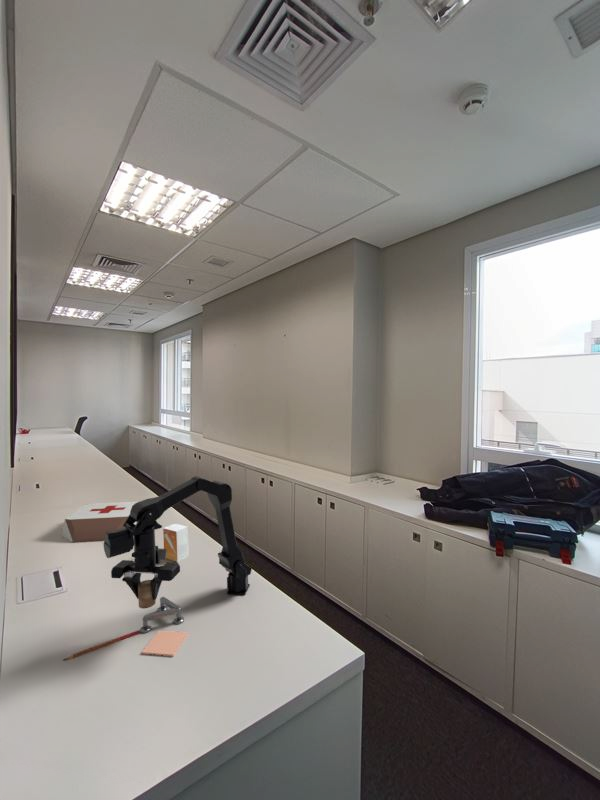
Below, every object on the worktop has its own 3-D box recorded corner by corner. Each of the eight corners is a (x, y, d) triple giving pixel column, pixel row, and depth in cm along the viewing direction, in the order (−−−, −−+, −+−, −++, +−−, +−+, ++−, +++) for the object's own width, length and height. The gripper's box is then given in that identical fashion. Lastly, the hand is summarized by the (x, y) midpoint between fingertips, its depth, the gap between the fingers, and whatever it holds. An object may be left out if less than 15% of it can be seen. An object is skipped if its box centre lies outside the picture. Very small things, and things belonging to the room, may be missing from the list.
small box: (163, 558, 158) (162, 528, 157) (175, 552, 163) (174, 523, 163) (177, 562, 154) (176, 531, 153) (189, 556, 159) (188, 526, 159)
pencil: (138, 632, 111) (138, 629, 111) (139, 634, 110) (139, 631, 110) (62, 661, 100) (62, 657, 100) (62, 663, 99) (62, 659, 99)
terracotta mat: (188, 634, 109) (188, 632, 109) (173, 656, 100) (173, 654, 100) (159, 632, 110) (158, 630, 110) (141, 653, 101) (141, 652, 101)
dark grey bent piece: (192, 608, 121) (192, 596, 121) (173, 635, 108) (172, 621, 108) (160, 606, 123) (160, 594, 123) (138, 633, 110) (137, 618, 110)
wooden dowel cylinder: (158, 599, 112) (157, 580, 112) (150, 609, 108) (149, 588, 107) (144, 598, 113) (143, 579, 112) (135, 608, 108) (134, 587, 108)
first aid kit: (139, 539, 179) (138, 519, 179) (49, 544, 176) (48, 523, 175) (159, 515, 213) (158, 498, 213) (84, 519, 210) (83, 501, 209)
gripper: (187, 536, 116) (189, 585, 117) (131, 534, 119) (133, 582, 119) (169, 552, 105) (171, 606, 106) (108, 549, 108) (111, 602, 108)
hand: (147, 598), depth 110 cm, fingers closed on wooden dowel cylinder, 5 cm apart
